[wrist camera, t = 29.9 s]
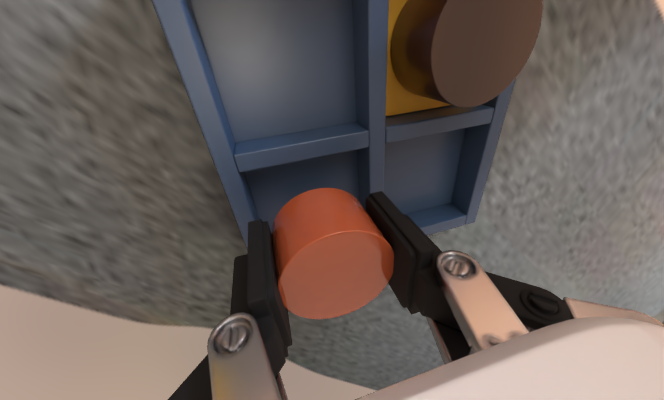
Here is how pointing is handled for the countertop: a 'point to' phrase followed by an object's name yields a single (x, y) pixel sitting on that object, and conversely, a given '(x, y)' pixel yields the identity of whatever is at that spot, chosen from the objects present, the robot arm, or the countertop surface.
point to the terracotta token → (328, 254)
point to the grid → (324, 109)
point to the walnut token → (463, 47)
